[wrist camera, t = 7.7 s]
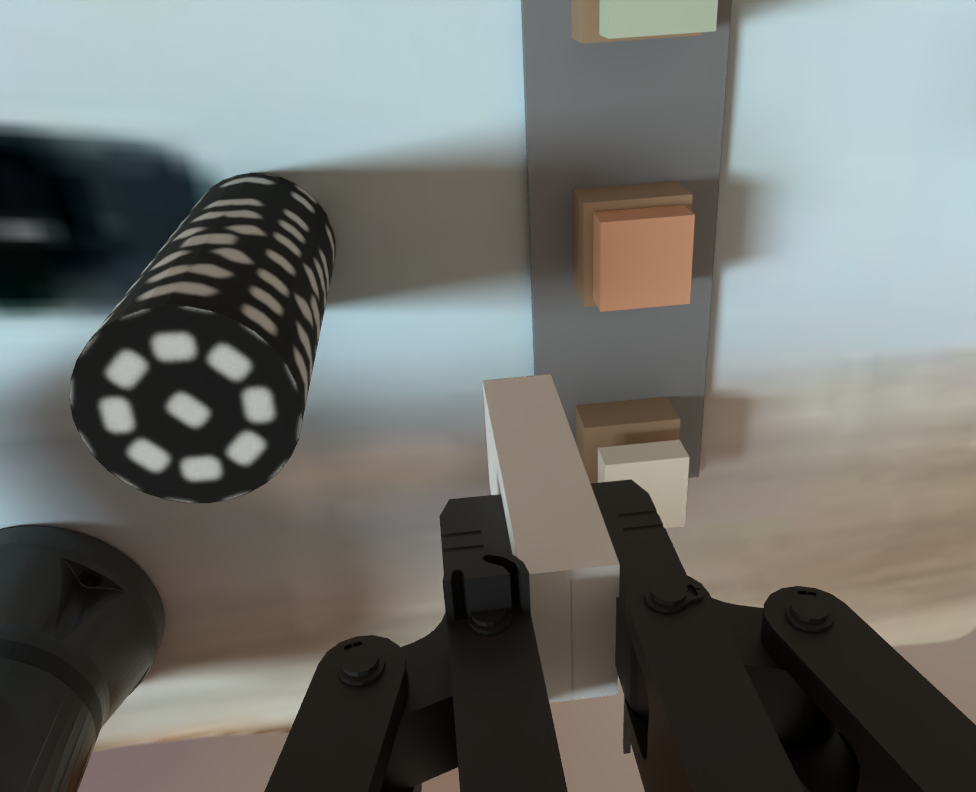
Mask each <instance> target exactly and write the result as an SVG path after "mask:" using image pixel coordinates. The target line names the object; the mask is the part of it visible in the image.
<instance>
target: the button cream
mask: <svg viewBox="0 0 976 792" xmlns="http://www.w3.org/2000/svg"><path fill="white" fill-rule="evenodd" d="M688 472H689V455H688V454H687V452H686V450H685V448H684V447H683V445H682V443H681V441H680V440H671V441H661V442H651V443H641V444H631V445H621V446H610V447H600V448H598V483H600V482H610V481H620V480H630V479H631V480H633V481H634V482H635V483H637V484H638V485H639V486H640V487H642V488H643V489H644V490H645V491H647V492H648V493H649V495H650V497H651V499H652V501H653V503H654V506H655V508H656V510H657V514H659V516H660V518H661V521H662V523H663V527H664V528H665V529H666V528H675V527H685V520H686V504H687V488H688Z"/></svg>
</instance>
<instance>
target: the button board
mask: <svg viewBox="0 0 976 792" xmlns="http://www.w3.org/2000/svg"><path fill="white" fill-rule="evenodd" d="M731 2H732V0H718V7H717V23H716V31H712V32H698V33H684V34H670V35H656V36H642V37H628V38H614V39H608V38H605V37H603V36H601V35H599V7H600V0H521V8H522V37H523V65H524V94H525V122H526V151H527V179H528V208H529V236H530V265H531V293H532V322H533V350H534V376H537V375H548V374H551V376H552V379H553V382H554V385H555V387H556V390H557V393H558V396H559V398H560V401H561V404H562V407H563V409H564V412H565V415H566V418H567V420H568V423H569V426H570V429H571V432H572V434H573V437H574V440H575V443H576V445H577V448H578V451H579V454H580V456H581V459H582V462H583V465H584V467H585V470H586V473H587V476H588V478H589V481H590V483H598V448H600V447H610V446H621V445H631V444H641V443H651V442H661V441H671V440H680V441H681V443H682V445H683V447H684V448H685V450H686V452H687V454H688V455H689V472H688V478H690V477H699V465H700V450H701V436H702V421H703V407H704V393H705V378H706V364H707V349H708V335H709V320H710V306H711V291H712V277H713V262H714V248H715V233H716V219H717V204H718V190H719V176H720V161H721V147H722V132H723V118H724V103H725V89H726V74H727V60H728V45H729V31H730V16H731ZM673 205H685V206H686V207H687V208H688V209H689V210H690V211H691V212H692V213H694V214H695V223H694V240H693V258H692V275H691V293H690V304H683V305H671V306H660V307H649V308H638V309H627V310H616V311H604V312H600V310H599V309H598V307H597V305H596V303H595V302H594V300H593V212H601V211H613V210H625V209H637V208H649V207H661V206H673Z"/></svg>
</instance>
